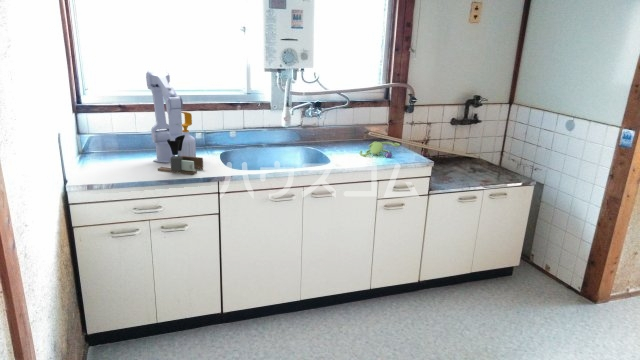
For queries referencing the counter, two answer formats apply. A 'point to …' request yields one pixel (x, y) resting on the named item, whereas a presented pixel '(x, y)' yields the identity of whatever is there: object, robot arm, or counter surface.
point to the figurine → (379, 149)
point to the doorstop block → (176, 163)
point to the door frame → (197, 165)
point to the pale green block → (187, 165)
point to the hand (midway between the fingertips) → (177, 152)
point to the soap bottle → (187, 138)
